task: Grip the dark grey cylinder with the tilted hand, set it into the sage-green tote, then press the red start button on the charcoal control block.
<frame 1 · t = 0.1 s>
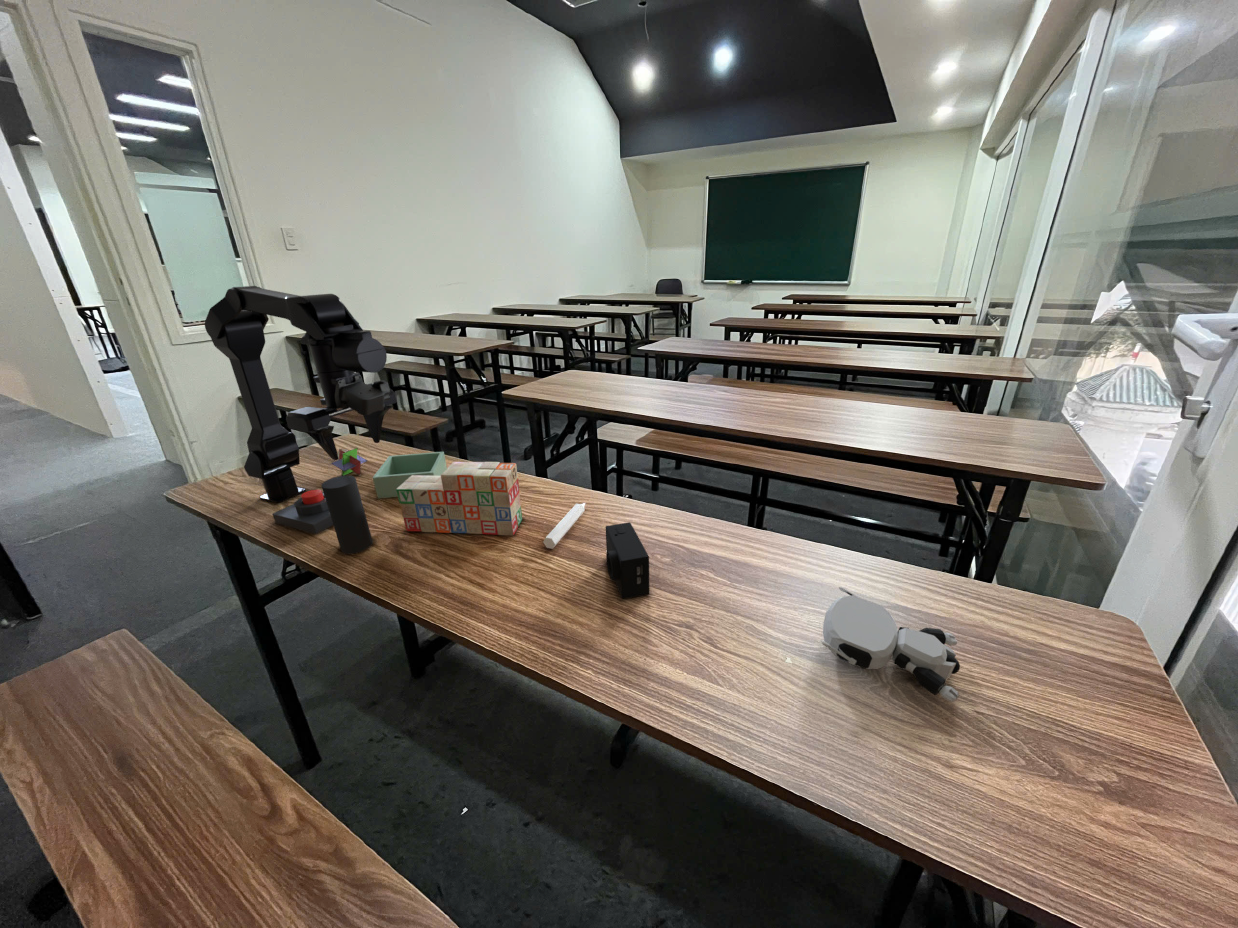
hand: (357, 450, 91), 15 cm above the table, tool pointing down, fingers open, 9 cm apart
stack of blocks: (465, 526, 93), on the table
robot toy: (883, 657, 60), on the table
geometric puzzle: (353, 474, 118), on the table
marker: (568, 526, 92), on the table
start button: (312, 497, 96), point 4 cm above the table, slide at 0.1 cm
dark grey cylinder: (357, 545, 87), on the table
digital camera: (623, 578, 77), on the table
tote: (414, 483, 111), on the table
control block: (318, 516, 98), on the table
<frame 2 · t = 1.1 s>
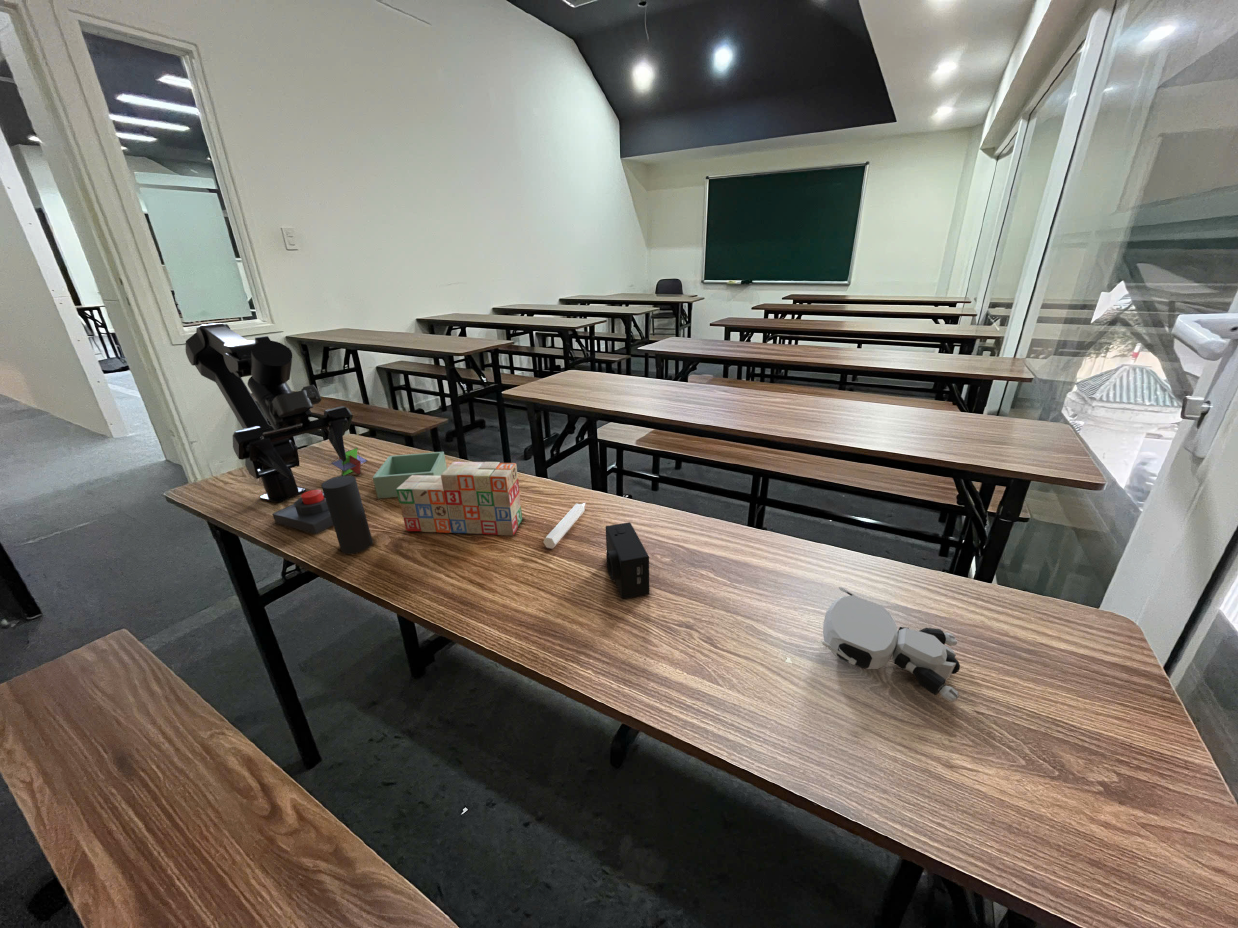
hand: (319, 468, 87), 13 cm above the table, tool tilted 45°, fingers open, 9 cm apart
nothing on the table moved.
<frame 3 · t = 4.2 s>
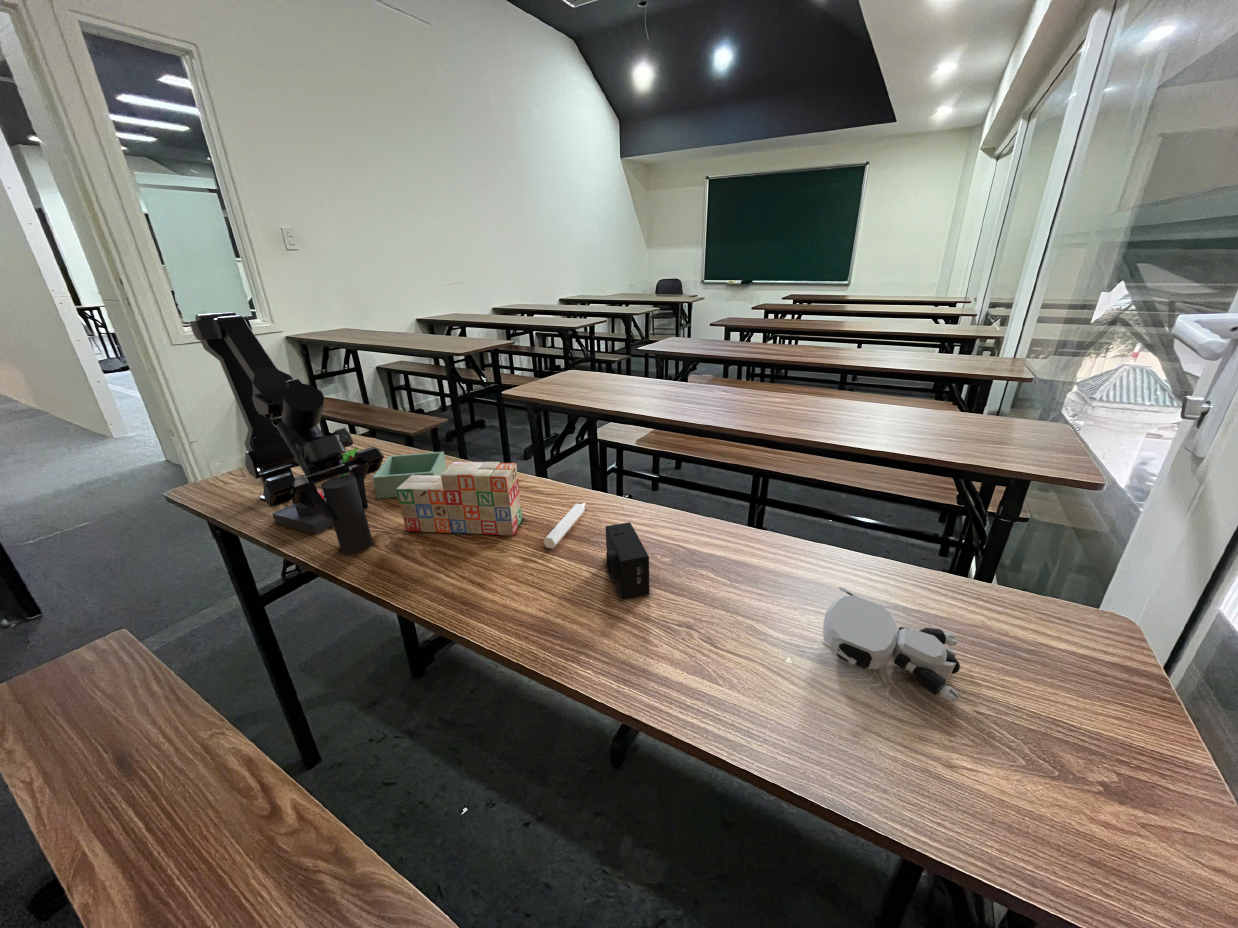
hand: (350, 514, 84), 7 cm above the table, tool tilted 45°, fingers closed on dark grey cylinder, 5 cm apart
dark grey cylinder: (357, 545, 87), on the table, touching gripper
everything else where it was.
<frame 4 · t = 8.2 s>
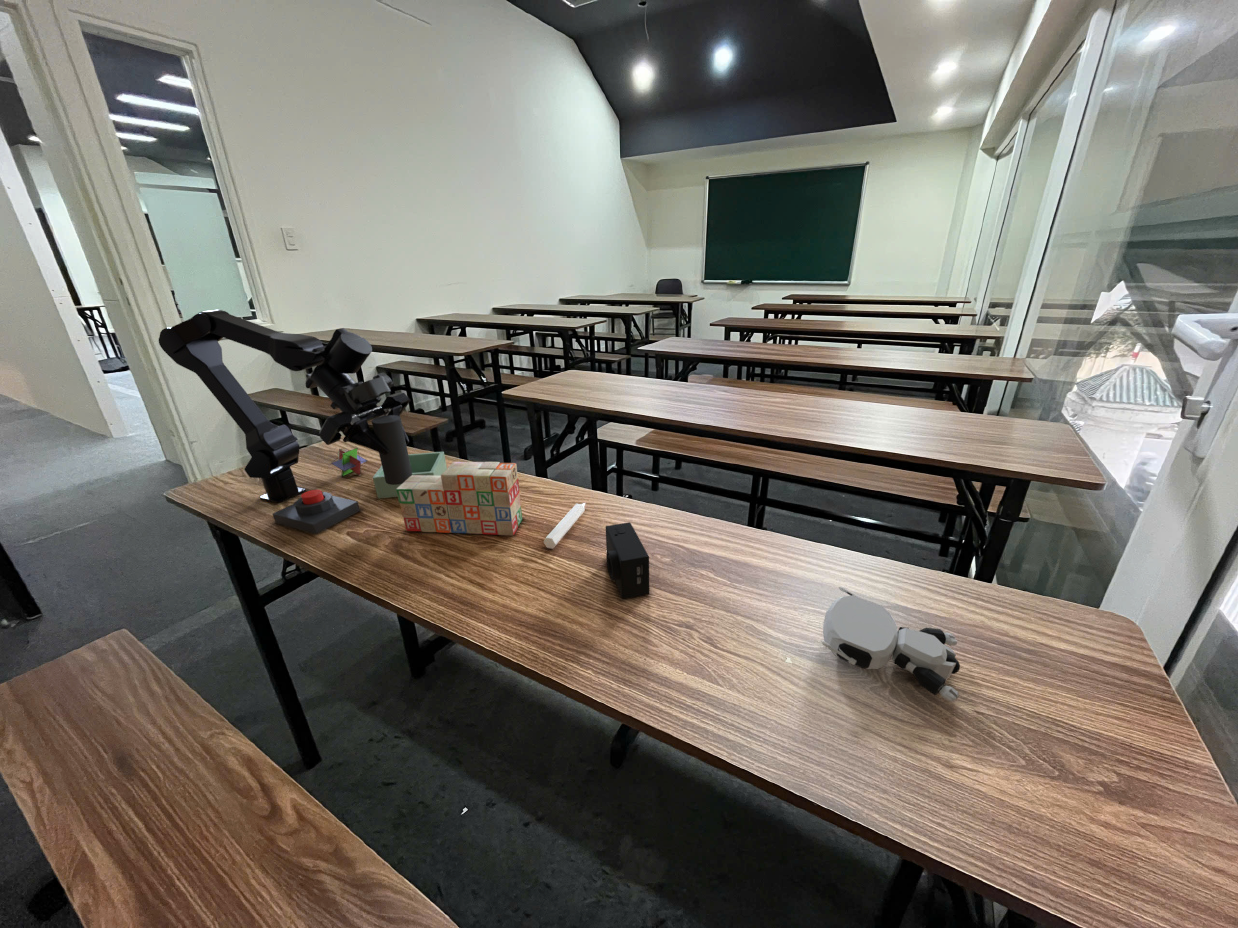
hand: (397, 448, 95), 13 cm above the table, tool tilted 45°, fingers closed on dark grey cylinder, 5 cm apart
dark grey cylinder: (399, 479, 98), point 6 cm above the table, touching gripper
everything else where it was.
when the fingers open (8 cm above the table, at t = 12.1 s): dark grey cylinder stays where it is, resting on tote.
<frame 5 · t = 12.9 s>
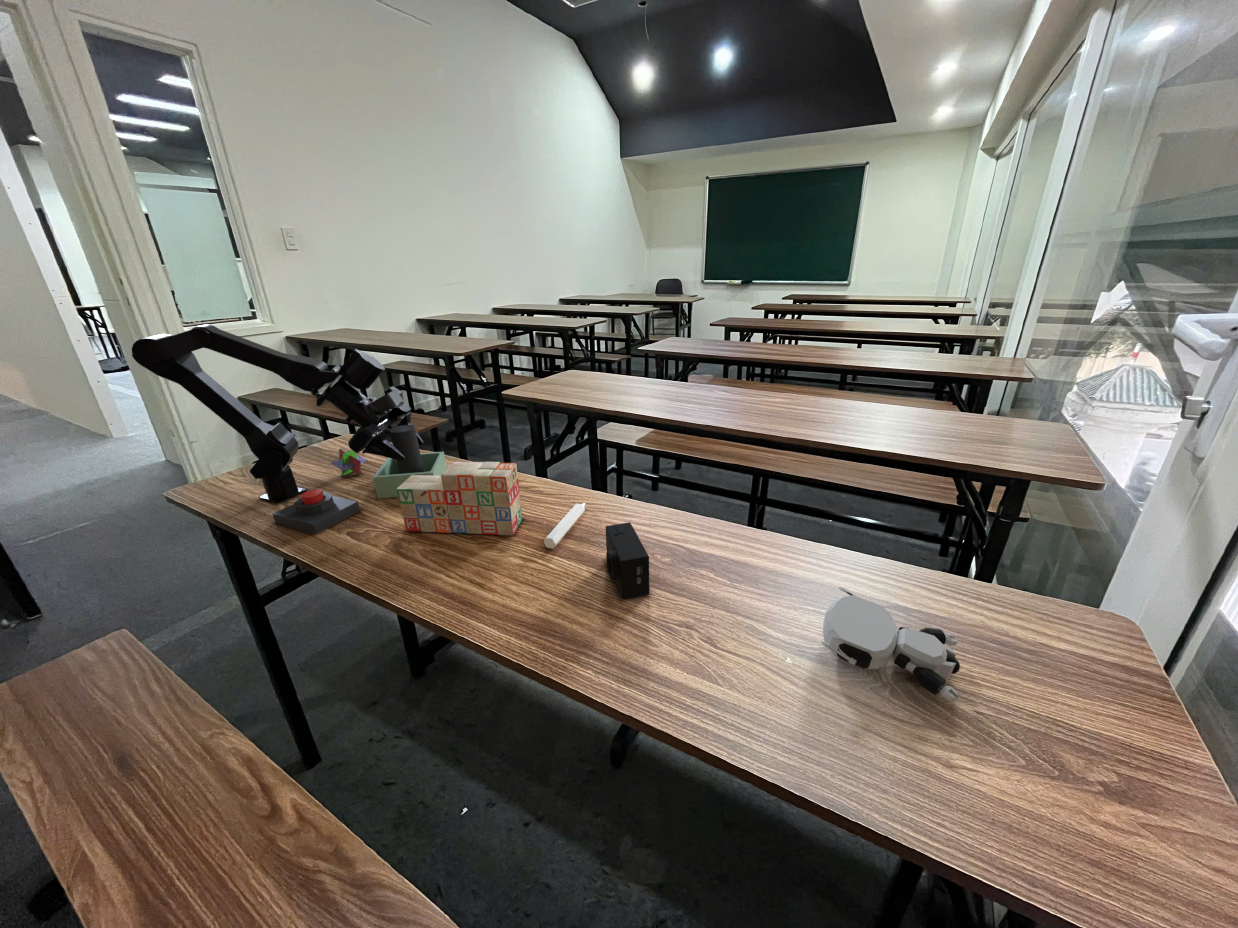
hand: (413, 451, 108), 8 cm above the table, tool tilted 45°, fingers open, 9 cm apart
dark grey cylinder: (413, 481, 111), point 1 cm above the table, touching tote
everything else where it was.
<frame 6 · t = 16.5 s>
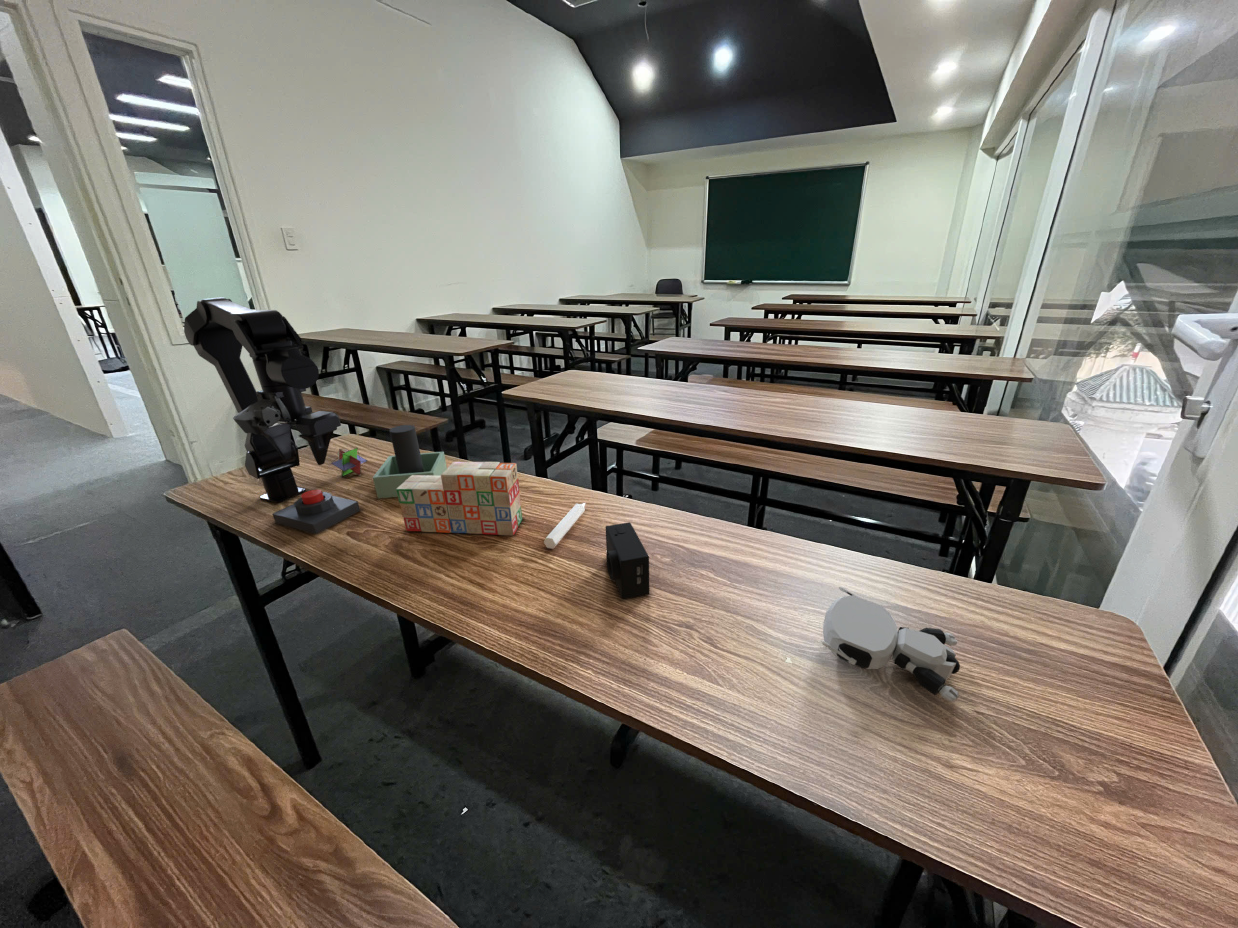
hand: (304, 462, 93), 12 cm above the table, tool pointing down, fingers open, 9 cm apart
nothing on the table moved.
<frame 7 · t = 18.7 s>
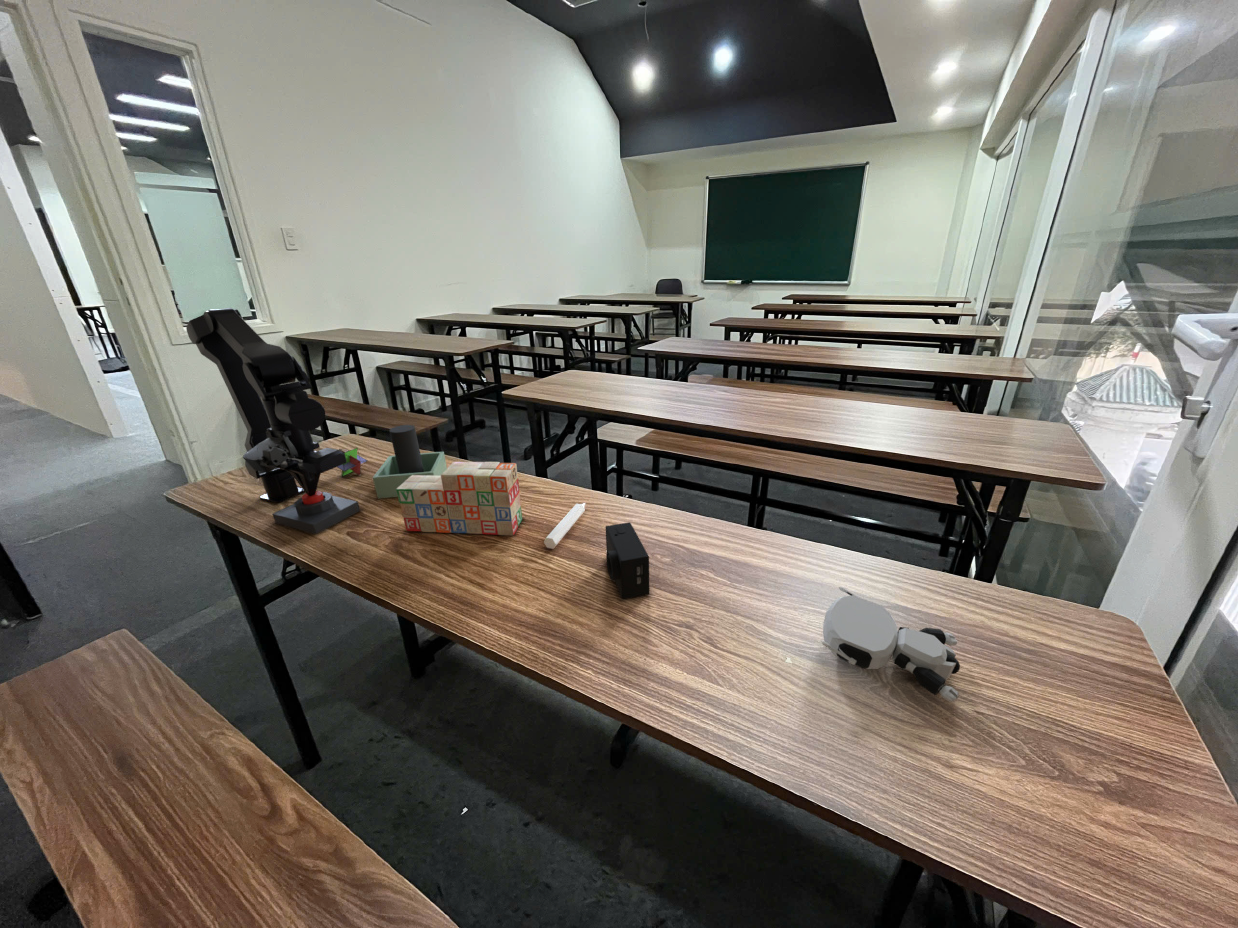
hand: (311, 494, 96), 5 cm above the table, tool pointing down, fingers closed, pressing on start button
start button: (313, 498, 96), point 4 cm above the table, slide at -0.2 cm, touching gripper
everything else where it was.
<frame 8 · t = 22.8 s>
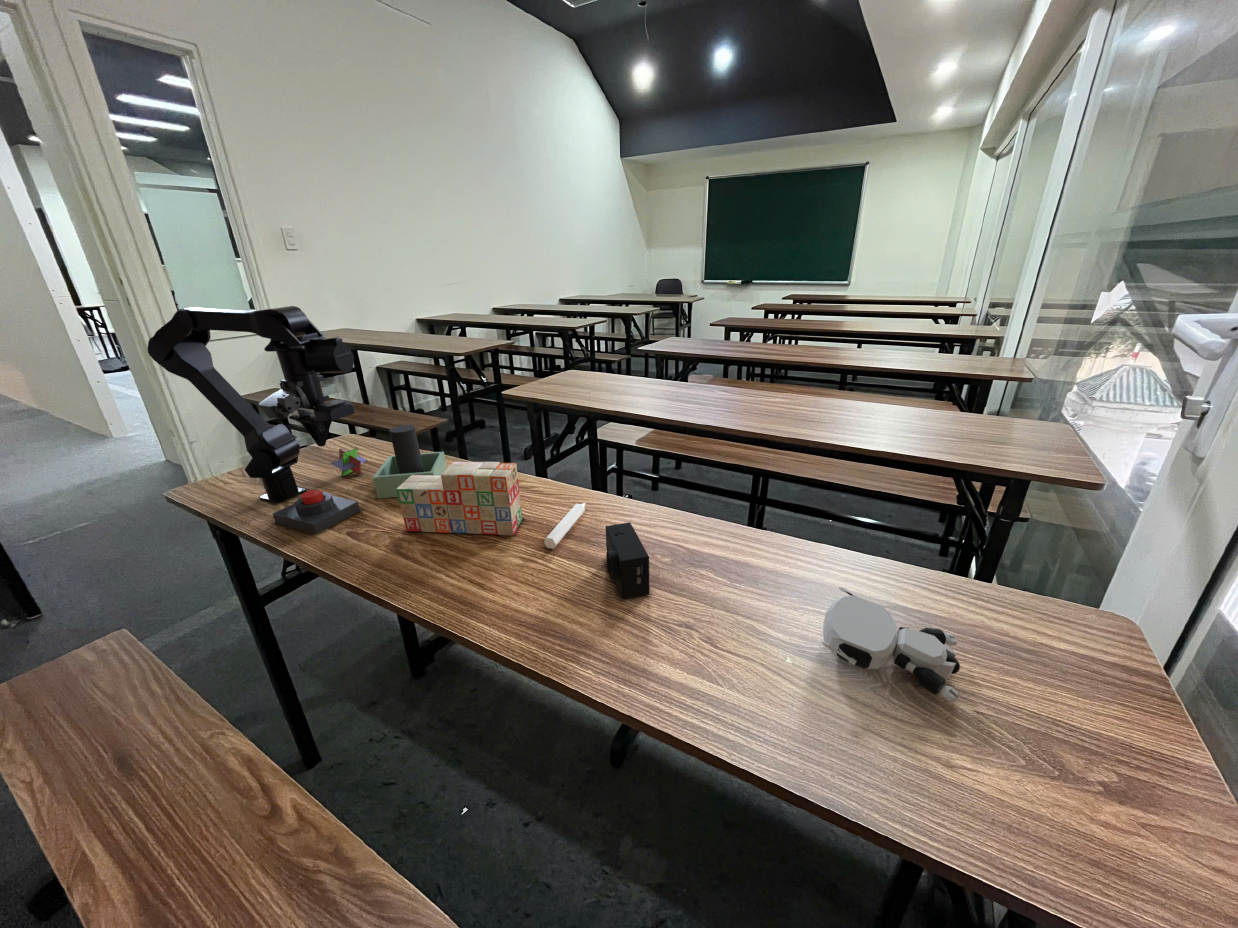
hand: (321, 445, 102), 12 cm above the table, tool pointing down, fingers closed
start button: (312, 497, 96), point 4 cm above the table, slide at 0.1 cm
everything else where it was.
at the end: dark grey cylinder inside the target area in the tote (0.1 cm from its centre), point 0.6 cm above the tote's base; start button pushed in 1.2 cm at the most during the clip, back to where it started at the end; start button slide at 0.1 cm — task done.
